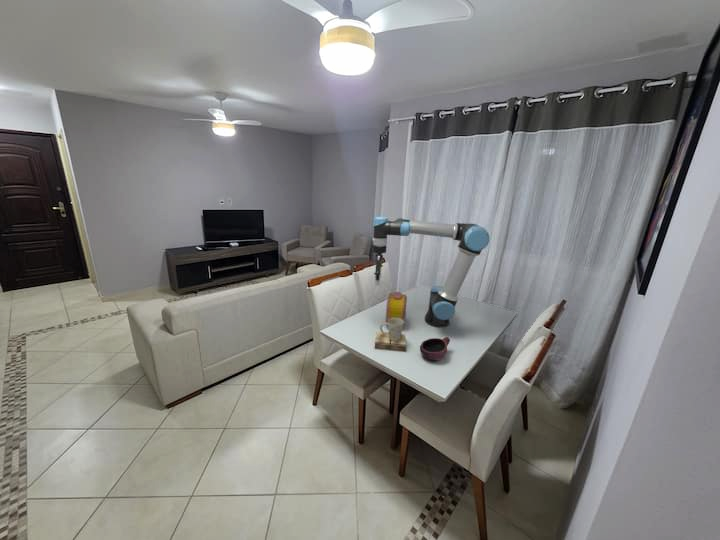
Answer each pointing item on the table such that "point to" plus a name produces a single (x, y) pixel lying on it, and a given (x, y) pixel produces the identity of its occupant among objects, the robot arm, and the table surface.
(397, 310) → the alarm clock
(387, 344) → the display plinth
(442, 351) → the bowl
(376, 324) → the table surface
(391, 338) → the mug
